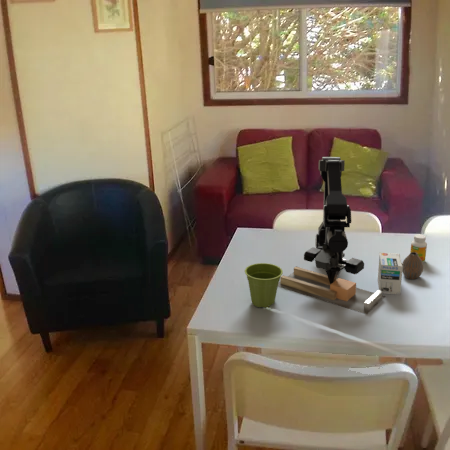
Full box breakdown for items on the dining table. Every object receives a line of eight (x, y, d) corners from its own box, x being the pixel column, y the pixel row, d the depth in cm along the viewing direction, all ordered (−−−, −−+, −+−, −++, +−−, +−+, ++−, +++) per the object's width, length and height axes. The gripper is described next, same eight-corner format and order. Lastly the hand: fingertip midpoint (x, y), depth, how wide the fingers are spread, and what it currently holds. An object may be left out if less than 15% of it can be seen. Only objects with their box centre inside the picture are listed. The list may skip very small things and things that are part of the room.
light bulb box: (400, 297, 172) (403, 266, 168) (378, 295, 173) (381, 265, 170) (397, 282, 182) (400, 252, 178) (376, 280, 183) (379, 251, 179)
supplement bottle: (408, 262, 196) (411, 237, 193) (410, 256, 201) (412, 232, 197) (424, 264, 194) (427, 239, 191) (425, 258, 199) (428, 234, 195)
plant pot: (271, 315, 163) (272, 282, 159) (238, 306, 169) (237, 274, 165) (288, 299, 172) (289, 267, 168) (256, 290, 178) (256, 260, 174)
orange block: (338, 288, 176) (339, 277, 175) (355, 294, 173) (356, 282, 171) (329, 295, 172) (330, 284, 171) (346, 301, 169) (347, 290, 167)
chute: (296, 272, 191) (296, 263, 190) (385, 298, 171) (386, 289, 170) (274, 287, 180) (274, 278, 179) (366, 316, 161) (367, 307, 160)
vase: (423, 274, 187) (425, 251, 184) (420, 282, 181) (423, 258, 178) (402, 270, 190) (404, 248, 187) (399, 279, 184) (401, 255, 181)
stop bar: (377, 296, 171) (377, 289, 170) (381, 298, 170) (382, 291, 169) (363, 309, 164) (364, 302, 163) (368, 311, 163) (368, 303, 162)
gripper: (295, 240, 168) (294, 285, 174) (350, 255, 157) (346, 302, 163) (313, 230, 176) (311, 273, 182) (366, 243, 165) (362, 288, 171)
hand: (332, 284), depth 174 cm, fingers closed
